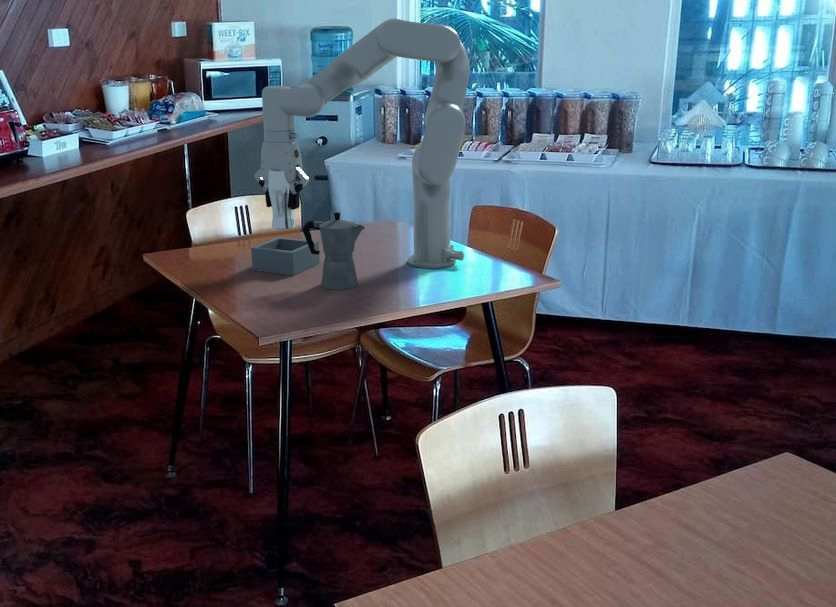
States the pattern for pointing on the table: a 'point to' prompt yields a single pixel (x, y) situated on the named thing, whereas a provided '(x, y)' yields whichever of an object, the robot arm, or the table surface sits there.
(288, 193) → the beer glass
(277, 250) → the grey open box
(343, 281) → the coffeepot
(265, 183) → the robot arm
